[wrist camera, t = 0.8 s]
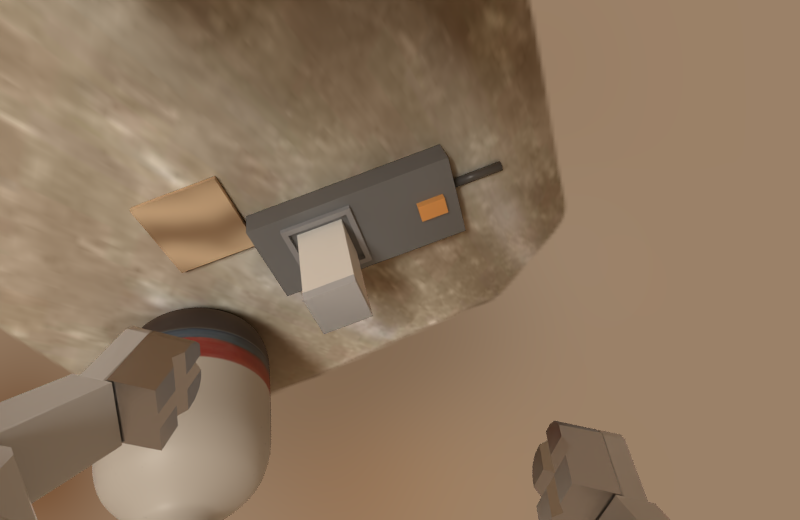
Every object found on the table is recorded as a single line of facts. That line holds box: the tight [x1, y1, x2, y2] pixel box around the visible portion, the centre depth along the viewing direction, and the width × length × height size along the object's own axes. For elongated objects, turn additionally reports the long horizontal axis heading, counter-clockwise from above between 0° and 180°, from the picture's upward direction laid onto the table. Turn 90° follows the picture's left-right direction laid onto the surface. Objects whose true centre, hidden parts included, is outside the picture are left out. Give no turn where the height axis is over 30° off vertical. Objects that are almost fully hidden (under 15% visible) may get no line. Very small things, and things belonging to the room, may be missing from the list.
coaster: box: [130, 176, 254, 273], centre depth 50 cm, size 9×9×1 cm
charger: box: [297, 219, 373, 334], centre depth 48 cm, size 5×5×10 cm
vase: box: [92, 308, 271, 520], centre depth 52 cm, size 17×17×24 cm
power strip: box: [246, 145, 503, 296], centre depth 53 cm, size 10×28×4 cm, turn 106°
